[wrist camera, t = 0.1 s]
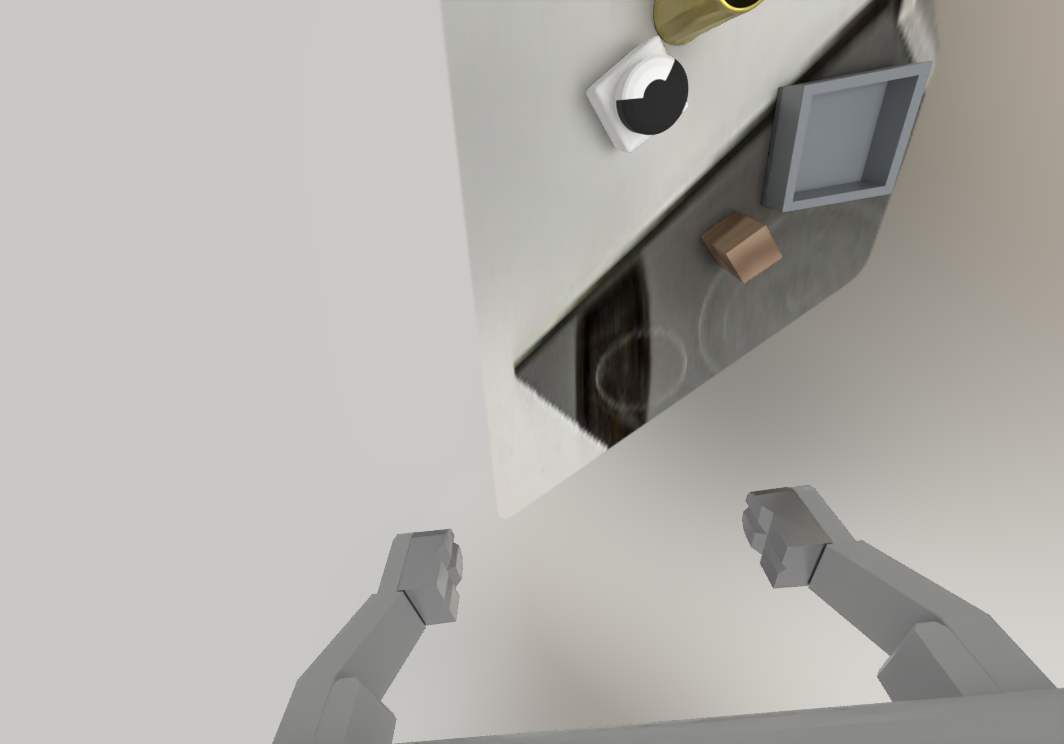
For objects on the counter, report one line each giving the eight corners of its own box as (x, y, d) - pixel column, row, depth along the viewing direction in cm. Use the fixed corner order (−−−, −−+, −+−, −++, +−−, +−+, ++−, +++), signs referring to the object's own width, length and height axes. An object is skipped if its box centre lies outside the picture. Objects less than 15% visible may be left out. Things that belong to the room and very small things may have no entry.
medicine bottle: (668, 107, 46) (710, 106, 36) (615, 149, 48) (640, 159, 38) (639, 43, 43) (676, 22, 33) (583, 91, 45) (602, 86, 35)
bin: (778, 87, 45) (804, 85, 41) (894, 65, 44) (933, 60, 40) (761, 204, 52) (782, 212, 48) (861, 186, 51) (891, 193, 47)
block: (700, 236, 54) (725, 253, 48) (734, 210, 52) (765, 225, 46) (717, 263, 56) (743, 283, 50) (750, 239, 55) (782, 257, 48)
